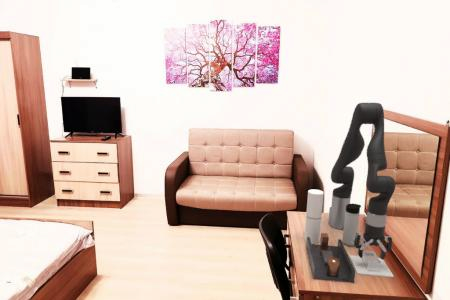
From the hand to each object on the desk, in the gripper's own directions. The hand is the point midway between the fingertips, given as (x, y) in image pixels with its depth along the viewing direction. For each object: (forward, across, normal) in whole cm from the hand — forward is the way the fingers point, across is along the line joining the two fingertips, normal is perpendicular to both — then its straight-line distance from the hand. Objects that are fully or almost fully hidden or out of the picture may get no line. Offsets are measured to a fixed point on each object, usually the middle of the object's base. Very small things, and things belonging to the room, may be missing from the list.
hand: (371, 257), depth 139 cm
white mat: (+4, 0, 0) cm, 4 cm away
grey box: (+3, 0, 0) cm, 3 cm away
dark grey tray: (+4, +18, 0) cm, 18 cm away
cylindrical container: (+4, +22, -20) cm, 30 cm away
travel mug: (+4, +4, -19) cm, 20 cm away
